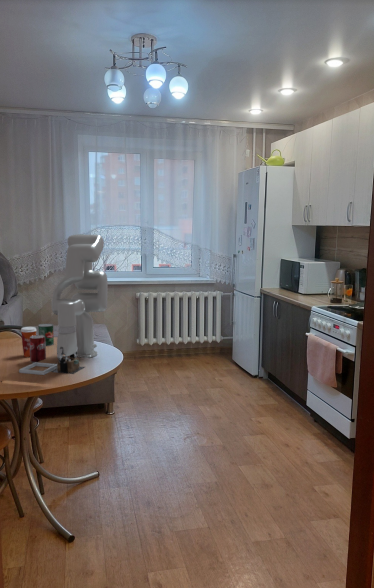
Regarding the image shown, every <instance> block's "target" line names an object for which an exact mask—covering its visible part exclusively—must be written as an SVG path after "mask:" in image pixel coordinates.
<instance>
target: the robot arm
mask: <svg viewBox="0 0 374 588" xmlns="http://www.w3.org/2000/svg"><path fill="white" fill-rule="evenodd" d="M104 242H105V241H104V239H103V236H102V235H100V234H72V235H69V236H68V237H67V248H66V249H67V250H66V257H65V269H64V276H63V277H62V278H60V280H59V281H58V283H57V284H55V287H54V289H53V291H52V297H51V298H52V299H51V311H52V313H53V314H54V315H56V316H57V326H58V327H57V330H58V331H57V332H58V333H57V334H58V335H57V338H56V357H57V361H58V360H59V363H60V371H61V372H67V371H68V369H67V363H66V362H67V357H69V358H85V359H89V358H93V357H96V356H97V355H98V352H97V351H96V350H95V349H96V348H97V347H98V345H97V343H95V341H94V340H95V338H94V335H95V333H94V329H95V328H94V318H93V316H92V315H91V314H90V313H103V312H106V310H107V309H108V291H109V290H108V285H109V282H108V275H107V273H106V272H105V271H103V270H93V263H96V262H98V261H99V259H100V257H101V254H102V252H103V249H104ZM73 284H74V285H75V288H77V290H83V291H85V290H86V291H94V290H95V291H97V292H77V293H74V294H73V295H72V296H71V298H61V295H62V293H63V291H64V290H65V289H66V288H68V287H70V286H72V285H73ZM63 358H65V359H63Z"/></svg>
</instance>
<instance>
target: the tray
mask: <svg viewBox="0 0 374 588" xmlns="http://www.w3.org/2000/svg"><path fill="white" fill-rule="evenodd" d="M34 367H45V369H44V370H36V369H32V368H34ZM55 369H57V363H48V362H35V363H31V364H28V365H25V366H23V367H22V368H20V369H19V370H18V372H19V374H29V375H30V374H31V375H43V376H45V375H46V374H48V373H51V371H53V370H55Z"/></svg>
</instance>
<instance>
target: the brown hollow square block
mask: <svg viewBox="0 0 374 588" xmlns="http://www.w3.org/2000/svg"><path fill="white" fill-rule="evenodd" d="M67 358H70V356H68V357H67ZM63 359H65V358H63ZM70 359H71V361H67V362H66V363H67V369H68V371H67V372H73V371H75V370H76V369H78V368H79V367H80V357H76V358H70ZM56 364H57V368H56V369H57V371H60V363H59V360H58V359H57V362H56Z"/></svg>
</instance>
